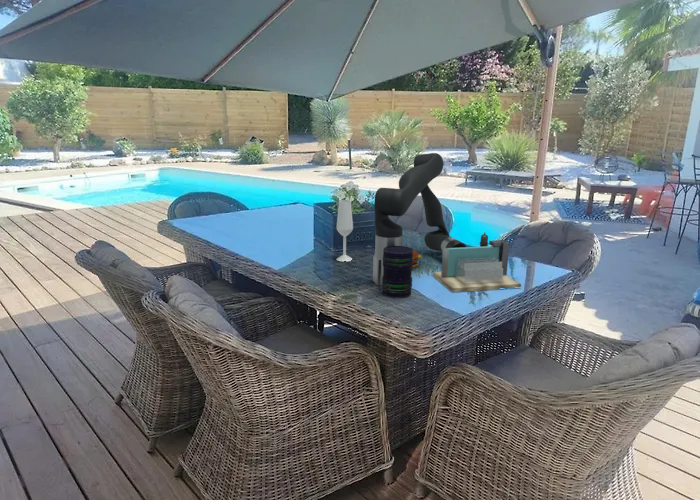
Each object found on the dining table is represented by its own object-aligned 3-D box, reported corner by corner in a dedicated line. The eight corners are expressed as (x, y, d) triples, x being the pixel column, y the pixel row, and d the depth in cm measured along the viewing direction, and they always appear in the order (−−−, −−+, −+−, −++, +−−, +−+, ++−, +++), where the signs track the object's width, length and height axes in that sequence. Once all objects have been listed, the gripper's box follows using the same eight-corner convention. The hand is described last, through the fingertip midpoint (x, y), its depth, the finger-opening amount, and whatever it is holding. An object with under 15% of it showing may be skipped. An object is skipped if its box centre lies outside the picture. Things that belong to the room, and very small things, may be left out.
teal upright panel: (442, 277, 180) (444, 249, 178) (440, 275, 182) (441, 248, 180) (497, 273, 184) (499, 247, 182) (494, 272, 186) (496, 245, 184)
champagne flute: (350, 262, 204) (351, 202, 198) (334, 260, 205) (334, 201, 199) (354, 257, 210) (354, 200, 204) (338, 256, 212) (338, 199, 205)
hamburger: (410, 270, 194) (410, 254, 192) (389, 266, 200) (389, 249, 198) (423, 265, 201) (423, 249, 199) (403, 261, 207) (403, 245, 205)
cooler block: (464, 284, 173) (466, 250, 170) (451, 274, 184) (453, 242, 181) (516, 281, 177) (519, 247, 174) (500, 271, 188) (503, 240, 185)
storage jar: (409, 288, 174) (411, 245, 170) (413, 298, 164) (415, 253, 161) (380, 288, 174) (381, 245, 170) (383, 298, 164) (384, 253, 160)
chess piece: (479, 258, 212) (481, 229, 209) (492, 260, 208) (494, 232, 205) (472, 261, 207) (474, 232, 204) (486, 263, 204) (488, 234, 201)
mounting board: (452, 292, 170) (452, 288, 169) (432, 276, 187) (433, 272, 186) (520, 288, 175) (521, 283, 175) (495, 272, 192) (496, 268, 192)
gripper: (438, 240, 197) (458, 252, 181) (469, 238, 200) (491, 250, 184) (437, 259, 199) (456, 272, 183) (468, 257, 202) (490, 270, 186)
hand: (474, 261), depth 183 cm, fingers closed
